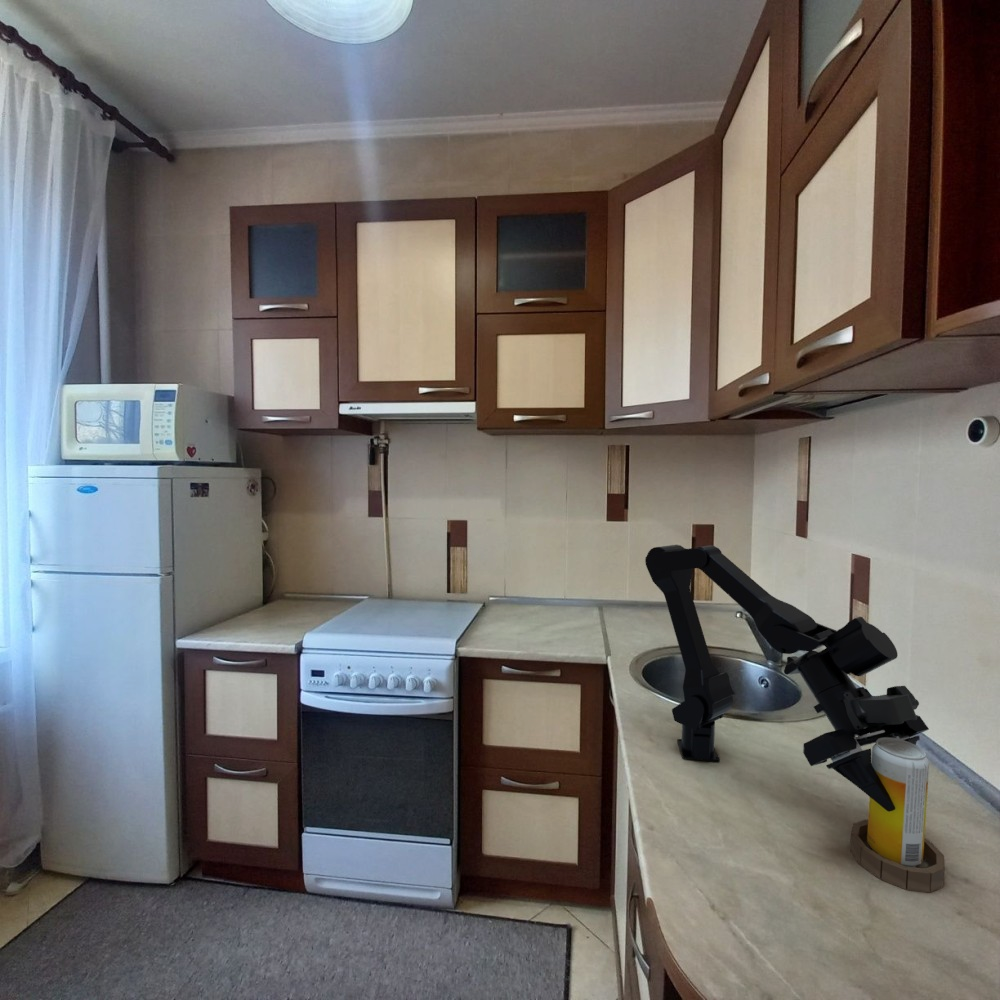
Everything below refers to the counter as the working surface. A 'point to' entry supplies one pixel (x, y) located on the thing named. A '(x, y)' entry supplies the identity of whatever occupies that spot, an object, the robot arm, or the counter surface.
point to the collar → (895, 872)
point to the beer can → (899, 802)
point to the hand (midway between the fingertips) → (908, 805)
